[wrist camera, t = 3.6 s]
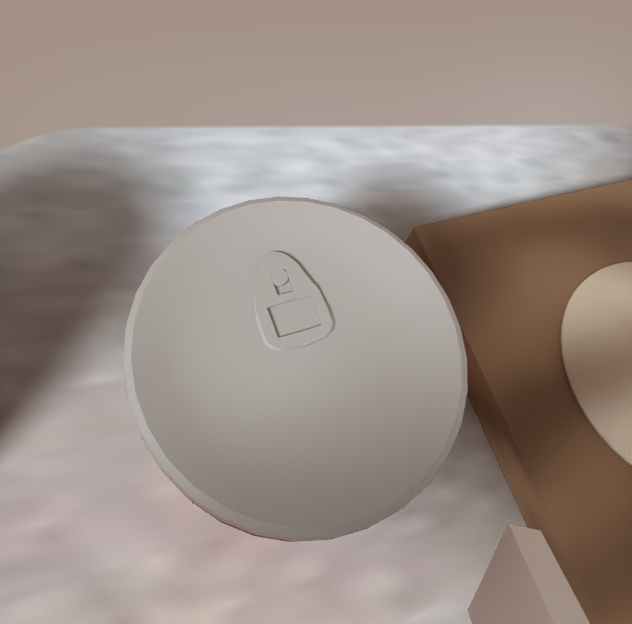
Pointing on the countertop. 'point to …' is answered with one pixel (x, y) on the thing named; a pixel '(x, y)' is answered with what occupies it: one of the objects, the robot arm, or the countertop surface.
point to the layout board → (553, 370)
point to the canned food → (295, 368)
